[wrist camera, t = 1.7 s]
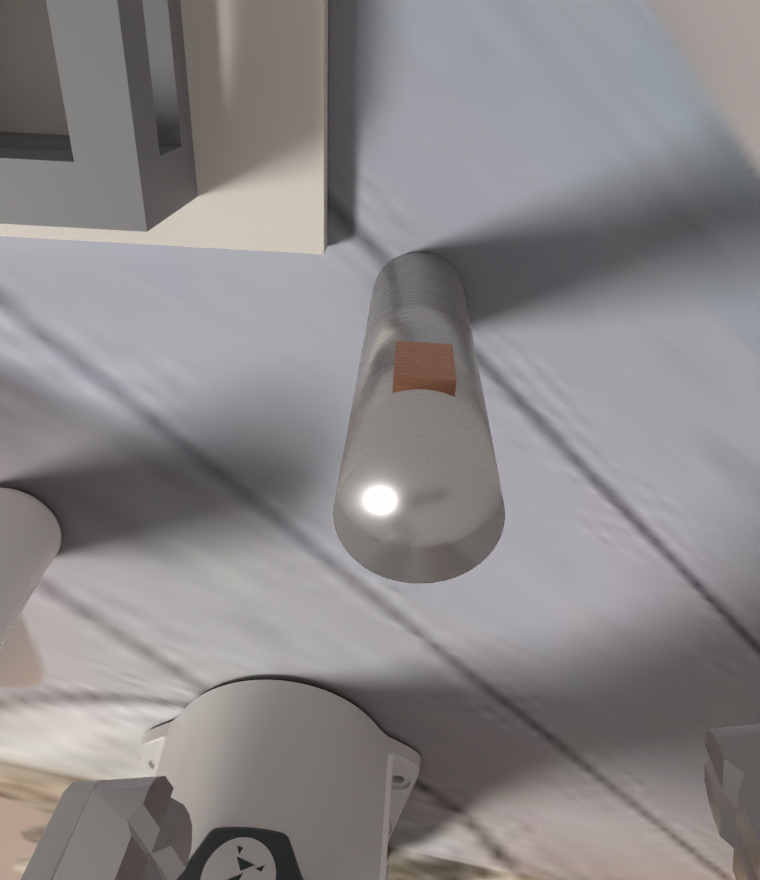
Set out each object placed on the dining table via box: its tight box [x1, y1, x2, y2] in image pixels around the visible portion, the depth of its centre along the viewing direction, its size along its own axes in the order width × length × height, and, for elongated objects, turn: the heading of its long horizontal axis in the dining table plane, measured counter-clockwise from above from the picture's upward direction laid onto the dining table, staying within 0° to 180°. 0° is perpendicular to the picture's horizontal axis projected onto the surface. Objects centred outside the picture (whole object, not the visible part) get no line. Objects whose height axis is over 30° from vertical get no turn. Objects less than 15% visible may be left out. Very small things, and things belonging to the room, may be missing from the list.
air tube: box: [333, 252, 505, 583], centre depth 23 cm, size 4×4×16 cm
